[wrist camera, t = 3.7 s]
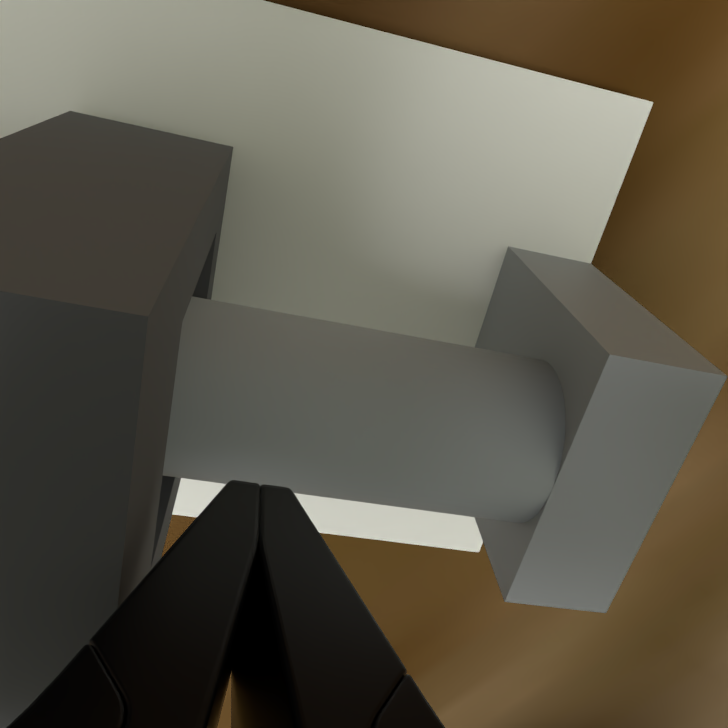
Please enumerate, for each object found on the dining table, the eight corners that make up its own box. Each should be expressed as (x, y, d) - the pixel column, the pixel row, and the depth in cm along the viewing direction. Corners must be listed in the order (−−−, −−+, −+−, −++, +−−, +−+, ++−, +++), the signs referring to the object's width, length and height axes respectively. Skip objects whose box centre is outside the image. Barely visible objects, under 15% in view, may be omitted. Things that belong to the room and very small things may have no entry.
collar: (233, 146, 13) (149, 316, 6) (190, 441, 16) (95, 817, 8) (70, 110, 13) (-269, 243, 5) (55, 422, 16) (-175, 805, 8)
